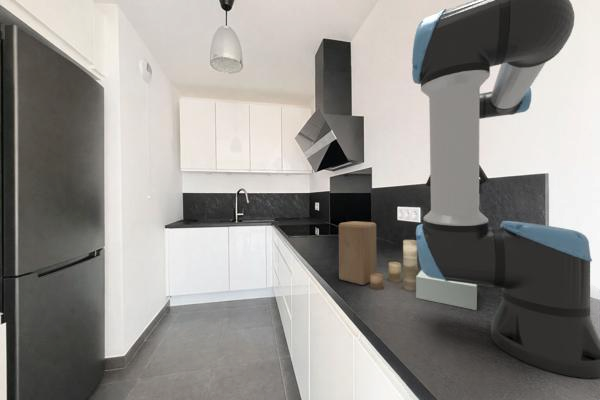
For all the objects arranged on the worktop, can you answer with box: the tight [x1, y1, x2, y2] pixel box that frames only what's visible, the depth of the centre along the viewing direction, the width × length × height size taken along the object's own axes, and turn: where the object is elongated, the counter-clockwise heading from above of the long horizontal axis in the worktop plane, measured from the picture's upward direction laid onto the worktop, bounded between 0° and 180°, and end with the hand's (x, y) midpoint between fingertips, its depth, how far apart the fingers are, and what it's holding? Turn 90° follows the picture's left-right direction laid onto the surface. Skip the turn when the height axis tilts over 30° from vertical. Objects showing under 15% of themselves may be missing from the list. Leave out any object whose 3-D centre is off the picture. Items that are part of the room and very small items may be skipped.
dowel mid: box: [388, 261, 402, 284], centre depth 85 cm, size 4×4×6 cm
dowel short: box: [369, 273, 384, 291], centre depth 79 cm, size 4×4×4 cm
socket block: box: [415, 269, 478, 311], centre depth 72 cm, size 14×14×6 cm
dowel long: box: [402, 239, 418, 292], centre depth 78 cm, size 4×4×15 cm
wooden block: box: [338, 220, 378, 286], centre depth 87 cm, size 10×10×20 cm
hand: (454, 204), depth 90 cm, fingers open, 13 cm apart
